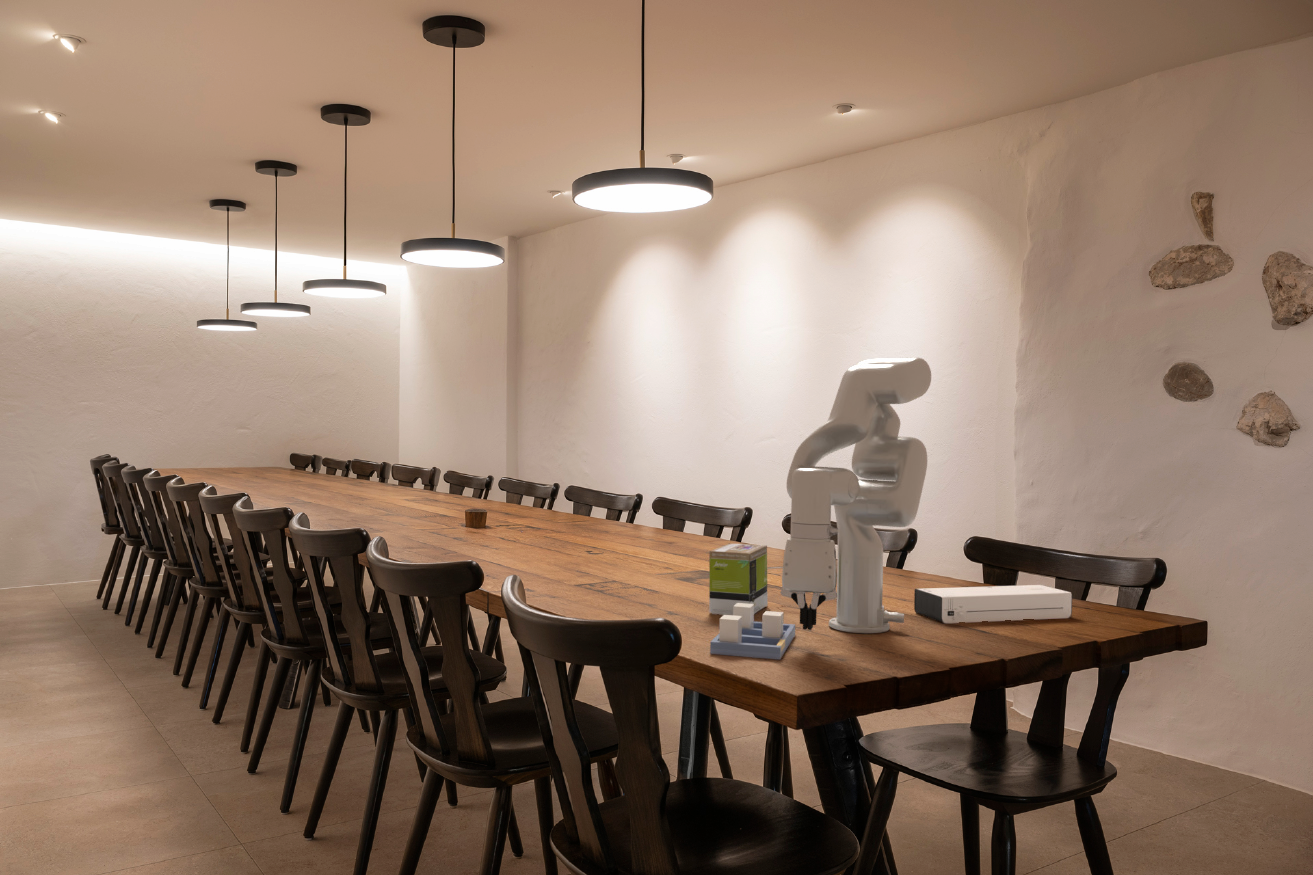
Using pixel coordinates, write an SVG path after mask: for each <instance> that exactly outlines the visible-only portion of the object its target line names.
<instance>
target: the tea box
mask: <svg viewBox="0 0 1313 875" xmlns="http://www.w3.org/2000/svg"><path fill="white" fill-rule="evenodd" d="M708 559H709V560H708V561H709V562H708V563H709V564H708V567H709V572H708V573H709V574H708V580H709V584H708V586H709V587H708V588H709V594H708V595H709V596H708V597H709V600H708V601H709V605H708V607H709V608H708V609H709V613H712V614H711V615H717V614H719V616H723V615H733V606H734V605H735V604H736V603H747V604H754V615H755V614H756V613H758V612H759V611H761V610H762V609H764V608H765V607H767V606H768V600H769V598H768V597H769V596H768V545H765V544H752V543H751V544H750V543H727V544H724V545H722V546H720V547H717V548H715V549H712V550H709V558H708Z"/></svg>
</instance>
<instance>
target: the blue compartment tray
mask: <svg viewBox="0 0 1313 875" xmlns="http://www.w3.org/2000/svg"><path fill="white" fill-rule="evenodd" d="M795 636H796V623H795V624H792V623H783V636H782V638H777V637H764V636H762V621H755V620H754V628H743V627H742V642H741V643H740V642H728V641H719V633H718V634H717V635H716V636H715V637H714V638H712V640H710V643H709V645H710V649H709V653H710V655H712V654H713V655H722V656H723V655H724V656H732V657H744V658H745V657H746V658H757V659H758V658H759V659H769V660H779V661H780V660H781V659H782V657H783V655H784V654H785V653H786V651H787V649H788V648H789V646H790V644H791V643H792V641H793V639H794V638H795Z"/></svg>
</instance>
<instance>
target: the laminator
mask: <svg viewBox="0 0 1313 875" xmlns="http://www.w3.org/2000/svg"><path fill="white" fill-rule="evenodd" d="M913 596H914V598H913V599H914V602H913V603H914V604H913V607H914V608H913V609H914V612H915V613H916V614H917V613H918V614H917V615H921V616H923V615H924V616H923V617H926V618H928V617H929V619H931V620H934V621H936V622H939V621H940V623H942V624H959V622H965V623H982V621H988V622H1006V621H1005V620H1011V621H1024V620H1023V619H1034V620H1048V619H1049V620H1051V619H1052V620H1053V619H1070V618H1071V617H1072V614H1073V593H1072V592H1071V591H1067V590H1064V589H1063V590H1062V589H1060V588H1055V587H1051V586H1046V585H1043V584H1027V585H1024V584H1023V585H995V586H994V585H993V586H992V585H991V586H968V587H967V586H964V587H963V586H962V587H936V588H935V587H934V588H933V587H932V588H931V587H929V588H927V587H926V588H914V595H913Z"/></svg>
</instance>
